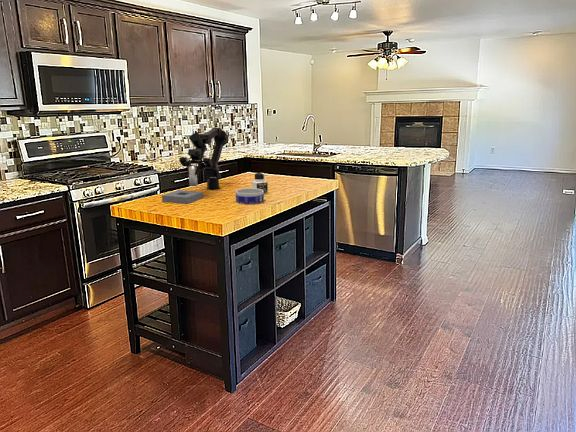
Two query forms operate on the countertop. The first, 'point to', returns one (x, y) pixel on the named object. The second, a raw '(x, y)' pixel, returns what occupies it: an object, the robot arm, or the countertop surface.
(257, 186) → the medicine bottle
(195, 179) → the peg
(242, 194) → the dog bowl
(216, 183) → the robot arm
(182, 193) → the socket block
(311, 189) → the countertop surface
